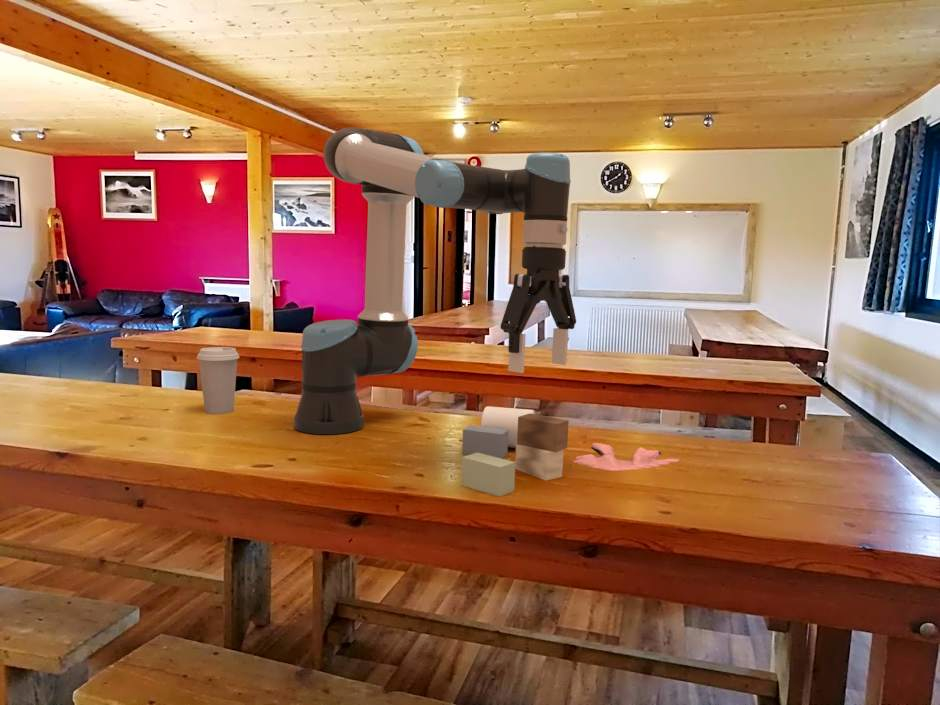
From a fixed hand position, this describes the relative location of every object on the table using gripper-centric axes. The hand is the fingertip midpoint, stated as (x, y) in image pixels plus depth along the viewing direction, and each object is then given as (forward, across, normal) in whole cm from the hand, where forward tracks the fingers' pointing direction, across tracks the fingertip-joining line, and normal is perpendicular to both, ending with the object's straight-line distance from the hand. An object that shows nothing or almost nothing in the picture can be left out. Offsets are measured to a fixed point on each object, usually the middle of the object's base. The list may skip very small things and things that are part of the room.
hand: (538, 367), depth 120 cm
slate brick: (+19, +2, +13) cm, 23 cm away
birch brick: (+19, 0, -1) cm, 19 cm away
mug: (+19, +12, +14) cm, 27 cm away
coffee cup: (+20, -14, +81) cm, 85 cm away
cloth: (+20, +21, -8) cm, 30 cm away
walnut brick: (+14, 0, -2) cm, 14 cm away
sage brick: (+19, -13, 0) cm, 23 cm away
